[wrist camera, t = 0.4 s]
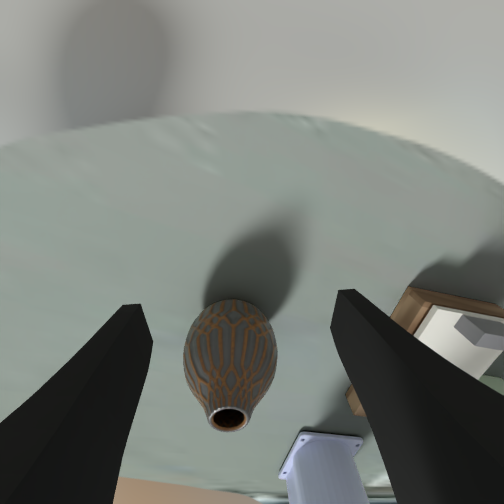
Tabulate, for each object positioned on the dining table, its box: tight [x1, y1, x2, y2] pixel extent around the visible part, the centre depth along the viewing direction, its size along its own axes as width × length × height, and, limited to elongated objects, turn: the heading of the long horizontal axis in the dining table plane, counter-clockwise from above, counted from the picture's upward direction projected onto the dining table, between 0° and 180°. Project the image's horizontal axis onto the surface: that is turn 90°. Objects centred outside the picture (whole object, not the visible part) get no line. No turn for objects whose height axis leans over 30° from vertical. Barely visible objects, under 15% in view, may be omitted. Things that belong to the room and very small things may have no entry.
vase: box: [183, 299, 277, 432], centre depth 19 cm, size 7×7×9 cm
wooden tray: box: [346, 286, 504, 417], centre depth 24 cm, size 14×9×2 cm, turn 166°
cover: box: [414, 305, 504, 380], centre depth 20 cm, size 6×8×2 cm
